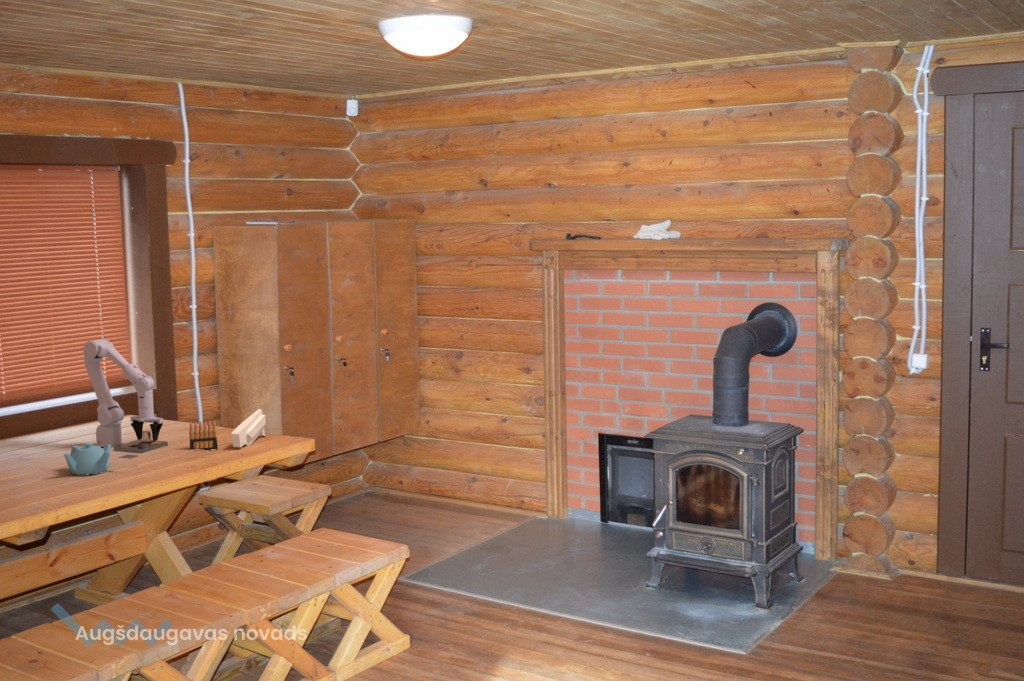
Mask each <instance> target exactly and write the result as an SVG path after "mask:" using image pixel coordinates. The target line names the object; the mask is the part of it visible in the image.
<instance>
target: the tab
mask: <svg viewBox="0 0 1024 681" xmlns="http://www.w3.org/2000/svg"><path fill="white" fill-rule="evenodd" d="M138 457H139V455H137V454H125V455H122V456H118V458H120V459H121V458H122V459H134V458H138Z"/></svg>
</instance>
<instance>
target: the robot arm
mask: <svg viewBox="0 0 1024 681" xmlns="http://www.w3.org/2000/svg"><path fill="white" fill-rule="evenodd" d="M82 351H83V354H84V356H83V357H84V359H83V362H84V363H83V364H84V366H85V369H86V371H87V375H88V378H89V379H90V383H91V385H92V389H93V390H94V394H95V396H96V399H97V401H98V406H97V409H96V411H97V421H98V423H99V425H98V426H97V428H96V430H95V437H96V440H95V441H96V446H100V447H104V448H105V446H106V444H111V447H115V446H118V445H121V444H123V442H122V440H123V439H122V438H123V437H122V436H123V435H122V421H123V420H124V418H125V411H124V410H123V409H122V408H121V406H120V404H119V402H118V401H116V400H115V399H114V398H113V396H112V394H111V390H110V388H109V385H108V382H107V380H106V377H105V374H104V372H103V369H102V366H101V362H102V360H103V359H104V358H108V359H109V360H110V361H112V362H113V363H114V364H115V365H117V367H118V368H120V369H121V370H122V375H124V377H126V379H127V380H129V381H130V382H131V383H132V384H133V387H134V389H135V391H136V394H137V406H138V415H132V416H129V417H130V422H131V423H130V426H131V427H132V429H133V431H134V433H135V435H136V438H137V439H136V440H140V439H143V431H144V430H143V428H144V423H150V424H149V427H150V431H151V438H152V440H153V441H159V440H158V439H159V434H160V432H161V430H162V427H163V425H164V424H163V423H164V418H163V417H157V416H155V414H154V413H155V411H154V410H155V409H154V388H155V387H156V381H155V379H154V378H153V376H151V375H147V374H146V372H145V373H144V372H143V371H142V370H141V369H140V368H139V366H138V365H137V364H134V363H129V361H127V360H126V359H125V357H123V356H122V355H121V353H120V352H119V351H118V350H117V349H116V348H115V346H114V344H113V343H112V342H110V340H109V339H108V338H106V337H105V338H103V337H102V338H99V339H93V340H87V342H85V344H84V346H83V348H82ZM104 448H103V449H104Z"/></svg>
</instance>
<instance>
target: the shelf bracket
mask: <svg viewBox="0 0 1024 681" xmlns="http://www.w3.org/2000/svg"><path fill="white" fill-rule="evenodd" d="M266 424H267V421H266V415H265V414H263V409H261V408H258V409H257V410H255V411H254V412H253V413H252V414H251V415H250V416H248V417H247V418H246V419H244V420H243V421H242V422H241V423H240V424H239V425H238V426H237V427H236V428H235V429H233V430H232V432H231V434H230V435H231V442H232V447H233V448H242V447H243V446H248V445H249V446H251V445H252V444H253V443H254V442H255V441H256V439H258V437H262V436H265V437H266V433H265V425H266ZM250 444H251V445H250Z"/></svg>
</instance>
